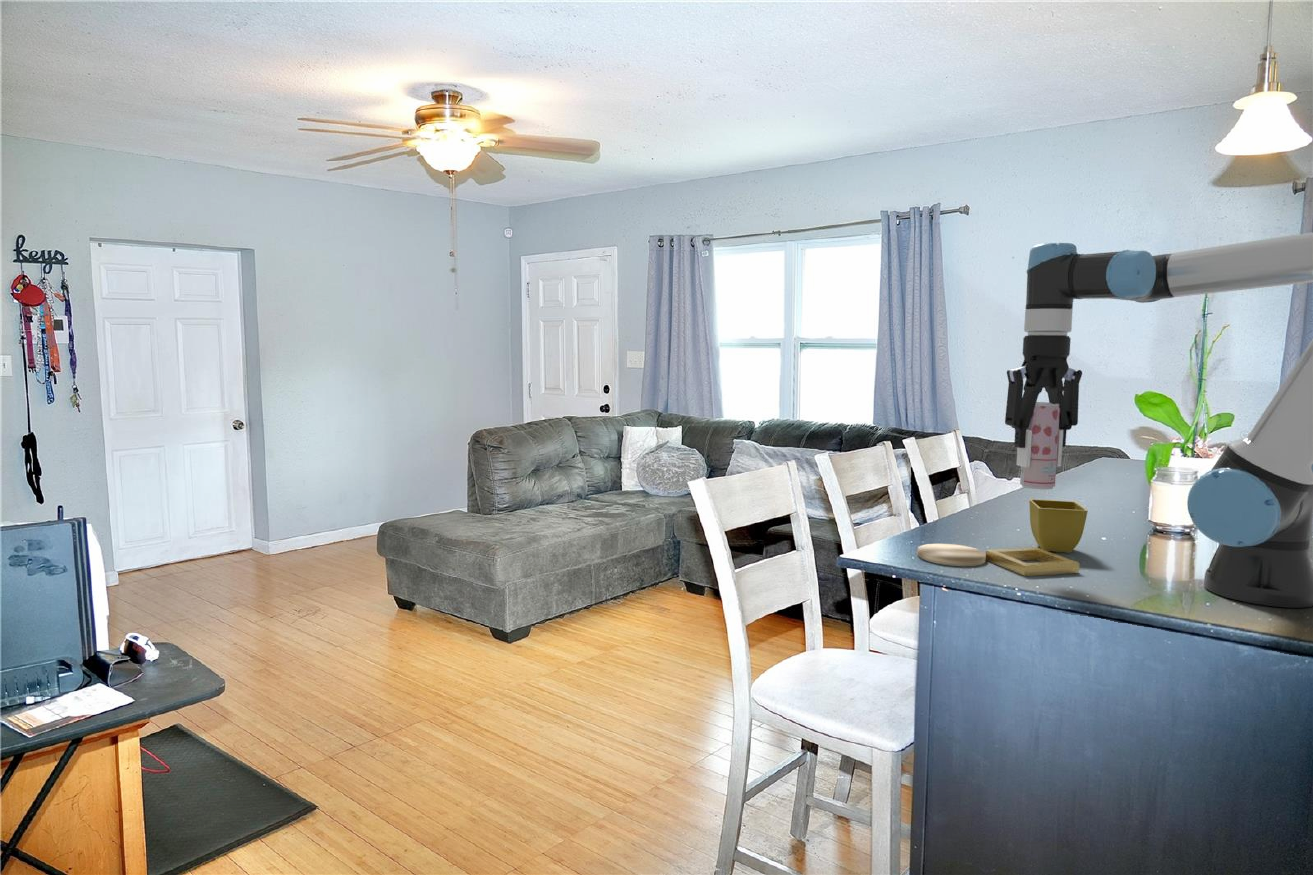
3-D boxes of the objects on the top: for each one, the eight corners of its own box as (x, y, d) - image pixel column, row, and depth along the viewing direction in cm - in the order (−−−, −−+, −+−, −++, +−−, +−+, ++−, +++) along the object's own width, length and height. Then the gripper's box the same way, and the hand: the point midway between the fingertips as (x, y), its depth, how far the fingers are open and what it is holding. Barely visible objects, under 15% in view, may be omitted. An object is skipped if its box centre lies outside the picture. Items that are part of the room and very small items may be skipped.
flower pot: (1085, 556, 161) (1088, 510, 160) (1035, 553, 163) (1039, 507, 162) (1072, 545, 170) (1075, 501, 169) (1025, 543, 171) (1028, 499, 170)
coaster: (999, 564, 154) (999, 558, 154) (940, 567, 151) (940, 561, 151) (960, 548, 166) (961, 542, 166) (905, 551, 163) (905, 544, 163)
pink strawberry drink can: (1047, 491, 148) (1052, 404, 146) (1014, 486, 152) (1019, 402, 150) (1060, 487, 152) (1065, 403, 150) (1028, 483, 156) (1033, 401, 154)
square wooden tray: (1078, 572, 150) (1079, 562, 149) (1024, 576, 147) (1024, 565, 147) (1036, 557, 160) (1037, 547, 160) (985, 559, 158) (985, 550, 157)
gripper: (1078, 335, 154) (1069, 461, 157) (986, 333, 150) (979, 463, 153) (1108, 335, 147) (1098, 467, 150) (1013, 333, 143) (1005, 470, 146)
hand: (1038, 465), depth 151 cm, fingers closed on pink strawberry drink can, 6 cm apart
